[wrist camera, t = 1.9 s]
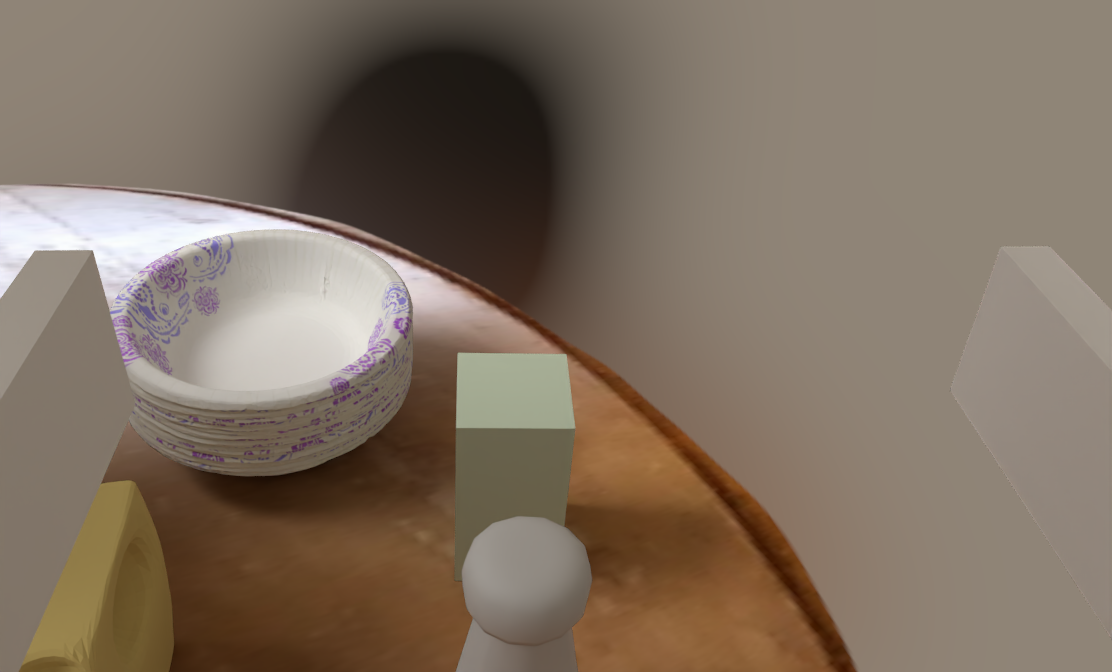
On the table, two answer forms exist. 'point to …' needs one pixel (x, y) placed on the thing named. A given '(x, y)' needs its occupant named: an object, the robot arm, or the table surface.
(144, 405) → the paper bowls
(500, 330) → the table surface
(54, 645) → the cheese
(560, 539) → the salt shaker
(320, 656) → the table surface
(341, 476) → the table surface
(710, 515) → the table surface
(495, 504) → the sage block
